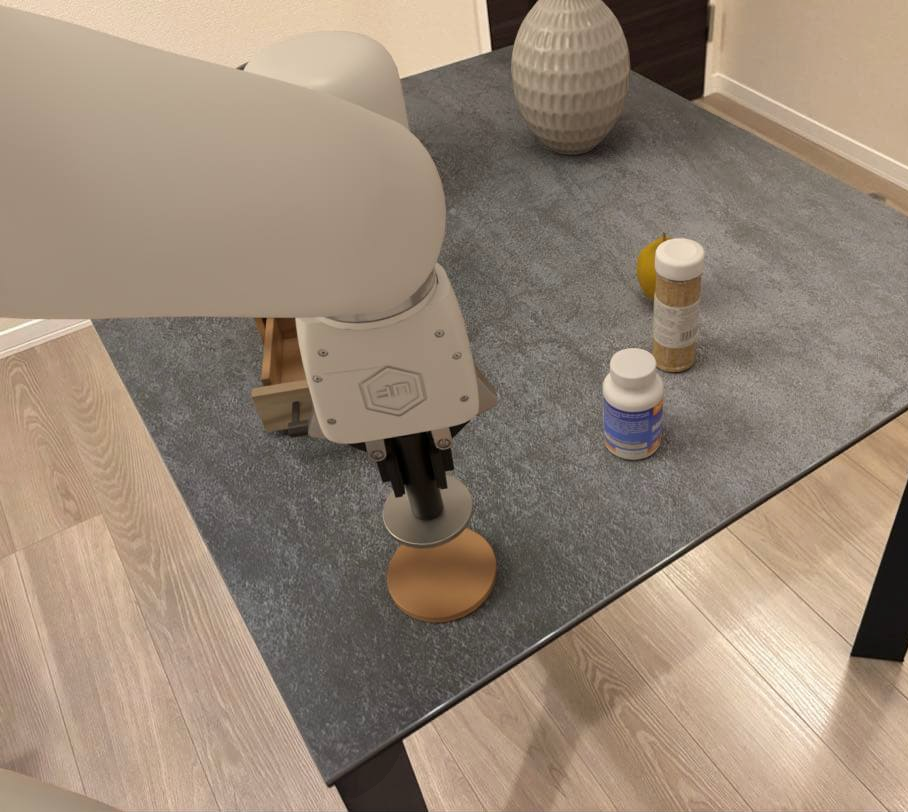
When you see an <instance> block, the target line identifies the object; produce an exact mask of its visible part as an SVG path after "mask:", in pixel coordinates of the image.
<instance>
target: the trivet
mask: <svg viewBox="0 0 908 812" xmlns="http://www.w3.org/2000/svg"><path fill="white" fill-rule="evenodd" d="M497 578H498V564H497V558H496V555H495V552H494V550H493V548H492V546H491V544H490V543H489V542H488V541H487V539H485V538H484V537H483V536H482V535H480V533H478V532H476V531H474V530H472V529H471V528H467V527H466V529H465V530H464V531H463V532H462V533H461V534H460V535H459V536H458V537H456V538H455V539H454V540H452V541H450V542H448V543H446V544H444V545H441V546H438V547H434V548H428V549H417V548H411V547H407V546H404V545H402V544H400V546H399V547H398V548H397V549H396V550H395V552H394V554H393V555H392V557H391V558H390V562H389V564H388V566H387V572H386V582H387V583H386V584H387V588H388V591H389V595H390V597H391V599H392V601H393V603H394V604H395V605H396V607H397V608H398V609H399V610H400V611H401V612H403V613H404V614H406V615H407V616H408V617H410V618H412V619H414V620H418V621H421V622H426V623H435V624H436V623H447V622H452V621H457V620H459V619H461V618H465V616H467V615H470V614H472V613H473V612H474V611H476V610H477V609H478V608H479V607H481V606H482V604H483V603H485V601H486V600H487V599H488V598H489V597H490V595H491V593H492V592H493V589H494V587H495V585H496V582H497Z"/></svg>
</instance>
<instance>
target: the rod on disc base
mask: <svg viewBox="0 0 908 812" xmlns="http://www.w3.org/2000/svg"><path fill="white" fill-rule="evenodd" d="M392 441H393V445H394V448H395V451H396V455H397V458H398V462H399V465H400V469H401V473H402V476H403V480H404V484H405V494H404V495H403V497H398V498H395V494H394V491H393V490H392V491H391V492H390V493H389V495H388V496H387V497H386V500H385V502H384V505H383V508H382V518H383V519H382V520H383V524H384V527H385V530H386V531H387V533H388V534H389V536H390V538H392V539H393V540H394V541H395V542H397V543H398V544H400V545H404V546H407V547H411V548H417V549H428V548H434V547H438V546H441V545H444V544H446V543H448V542H450V541H452V540H454V539H455V538H456V537H458V536H459V535H460V534H461V533H462V532H463V531H464V530H465V529H466V528H467V527H468V526H469V524H470V523H471V520H472V518H473V514H474V501H473V496H472V494H471V491H470V490H469V488H468V486H466V484H465V483H463V482H462V481H461V480H459V479H458V478H456V477H454V476H453V475H449V474H446V479H447V487H448V488H447V489H442V490H441V489H440V488H437V484H436V480H435V475H434V471H433V467H432V463H431V458H430V453H429V445H428V435H427V431H425V432H420V433H414V434H409V435H403V436H397V437H392Z"/></svg>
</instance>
